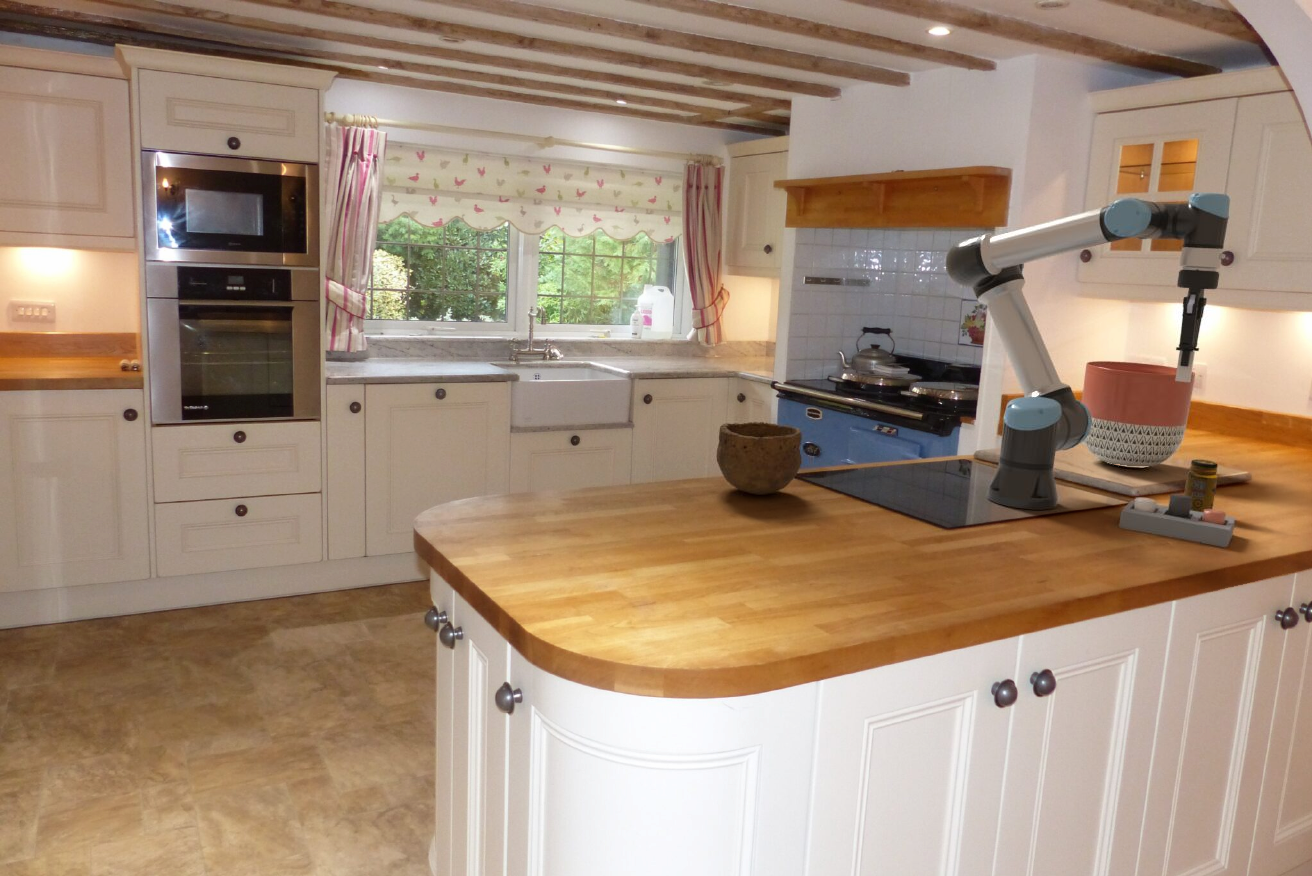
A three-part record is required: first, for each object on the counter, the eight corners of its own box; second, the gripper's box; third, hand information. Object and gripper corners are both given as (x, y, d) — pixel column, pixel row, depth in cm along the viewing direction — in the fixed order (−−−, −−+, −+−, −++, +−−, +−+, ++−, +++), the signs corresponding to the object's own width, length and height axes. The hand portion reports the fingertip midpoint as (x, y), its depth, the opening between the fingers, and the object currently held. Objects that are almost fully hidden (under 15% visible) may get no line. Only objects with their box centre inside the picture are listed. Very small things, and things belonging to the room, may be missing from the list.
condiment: (1219, 515, 226) (1228, 463, 224) (1199, 519, 222) (1207, 466, 219) (1187, 507, 232) (1196, 456, 230) (1167, 511, 228) (1175, 459, 225)
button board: (1119, 527, 212) (1121, 510, 211) (1129, 515, 222) (1131, 500, 221) (1226, 547, 201) (1229, 530, 200) (1232, 534, 211) (1235, 518, 210)
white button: (1131, 518, 214) (1133, 499, 213) (1134, 514, 217) (1137, 496, 217) (1151, 521, 212) (1154, 503, 211) (1154, 517, 215) (1157, 499, 214)
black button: (1166, 514, 210) (1169, 496, 209) (1169, 511, 213) (1172, 492, 213) (1187, 518, 208) (1190, 499, 207) (1190, 514, 211) (1193, 496, 210)
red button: (1199, 530, 207) (1202, 511, 206) (1202, 526, 210) (1205, 507, 209) (1221, 534, 205) (1224, 515, 204) (1223, 530, 208) (1226, 511, 207)
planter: (1062, 464, 272) (1076, 365, 267) (1085, 450, 294) (1098, 358, 289) (1171, 482, 258) (1187, 378, 252) (1186, 466, 279) (1201, 369, 274)
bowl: (702, 496, 220) (706, 429, 217) (729, 478, 237) (733, 416, 234) (785, 508, 213) (791, 439, 210) (807, 489, 230) (812, 425, 227)
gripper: (1215, 270, 203) (1198, 386, 207) (1223, 270, 213) (1206, 380, 218) (1174, 268, 207) (1158, 382, 211) (1184, 268, 217) (1168, 376, 222)
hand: (1182, 381), depth 215 cm, fingers closed
